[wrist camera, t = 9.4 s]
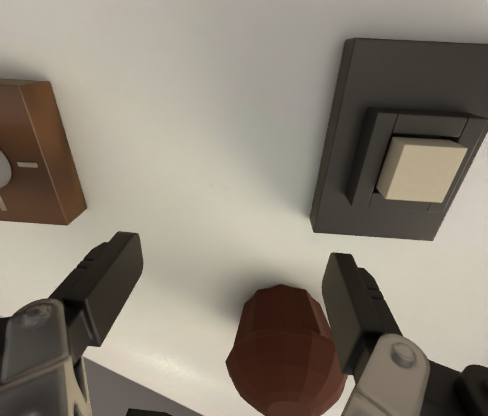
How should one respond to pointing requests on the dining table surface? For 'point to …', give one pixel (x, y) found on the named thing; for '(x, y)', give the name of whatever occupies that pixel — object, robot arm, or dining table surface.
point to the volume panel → (36, 157)
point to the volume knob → (4, 170)
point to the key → (419, 169)
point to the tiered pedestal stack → (396, 130)
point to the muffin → (285, 355)
